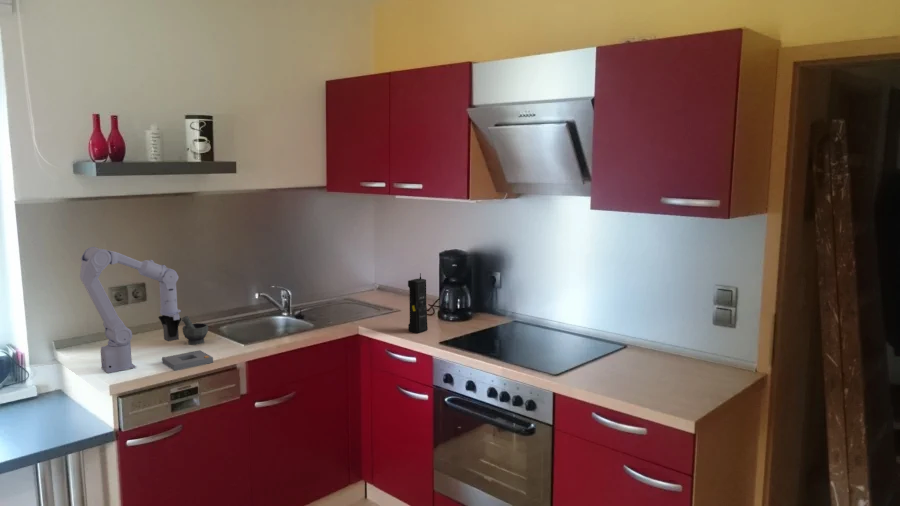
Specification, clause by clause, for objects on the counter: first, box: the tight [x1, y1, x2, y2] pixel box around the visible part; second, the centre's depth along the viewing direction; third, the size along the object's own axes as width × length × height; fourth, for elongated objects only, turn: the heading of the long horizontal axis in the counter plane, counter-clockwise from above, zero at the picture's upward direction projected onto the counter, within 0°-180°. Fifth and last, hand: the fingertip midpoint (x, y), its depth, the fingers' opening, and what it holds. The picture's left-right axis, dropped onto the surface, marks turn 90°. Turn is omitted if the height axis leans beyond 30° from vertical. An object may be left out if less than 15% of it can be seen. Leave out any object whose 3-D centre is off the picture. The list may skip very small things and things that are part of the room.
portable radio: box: [407, 273, 429, 334], centre depth 284 cm, size 8×6×25 cm
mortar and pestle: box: [181, 315, 209, 346], centre depth 266 cm, size 11×9×12 cm
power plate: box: [161, 349, 214, 371], centre depth 241 cm, size 14×12×2 cm
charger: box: [162, 323, 180, 342], centre depth 247 cm, size 4×4×7 cm
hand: (170, 335), depth 247 cm, fingers closed on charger, 4 cm apart
